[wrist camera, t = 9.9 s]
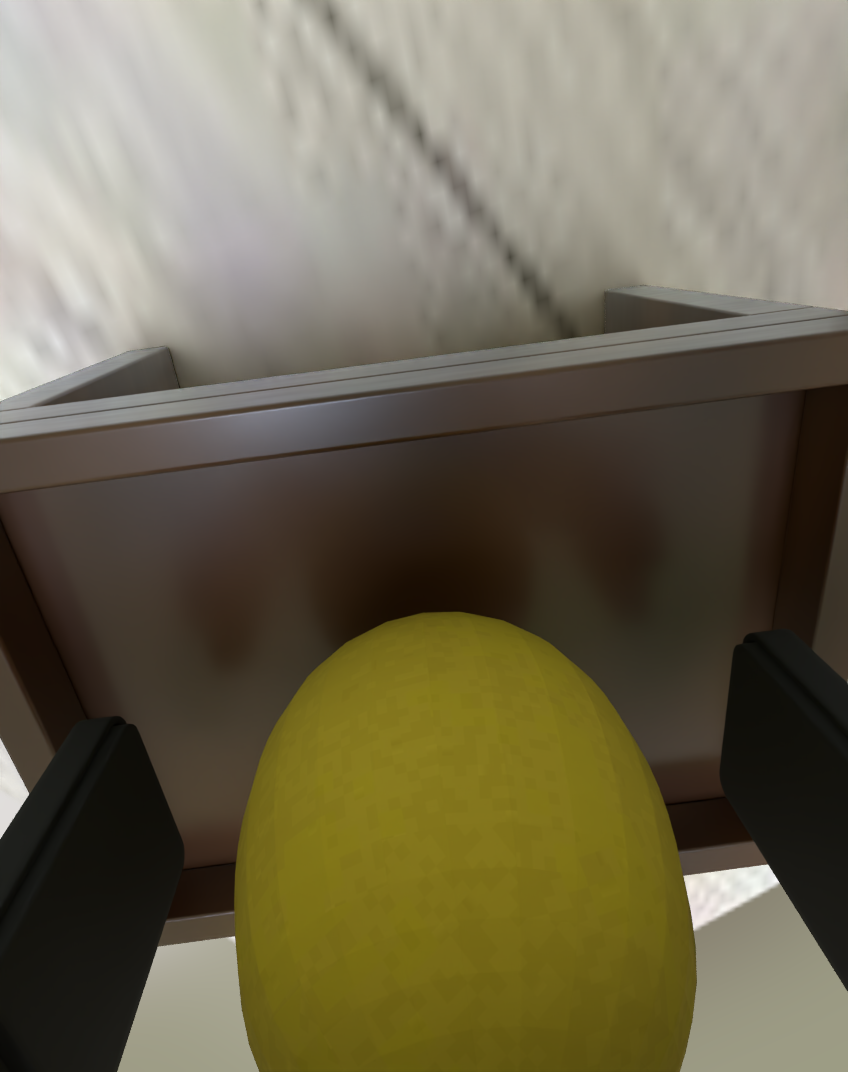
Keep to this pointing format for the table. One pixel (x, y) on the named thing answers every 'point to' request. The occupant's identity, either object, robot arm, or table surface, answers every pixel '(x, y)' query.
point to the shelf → (425, 542)
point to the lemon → (459, 868)
